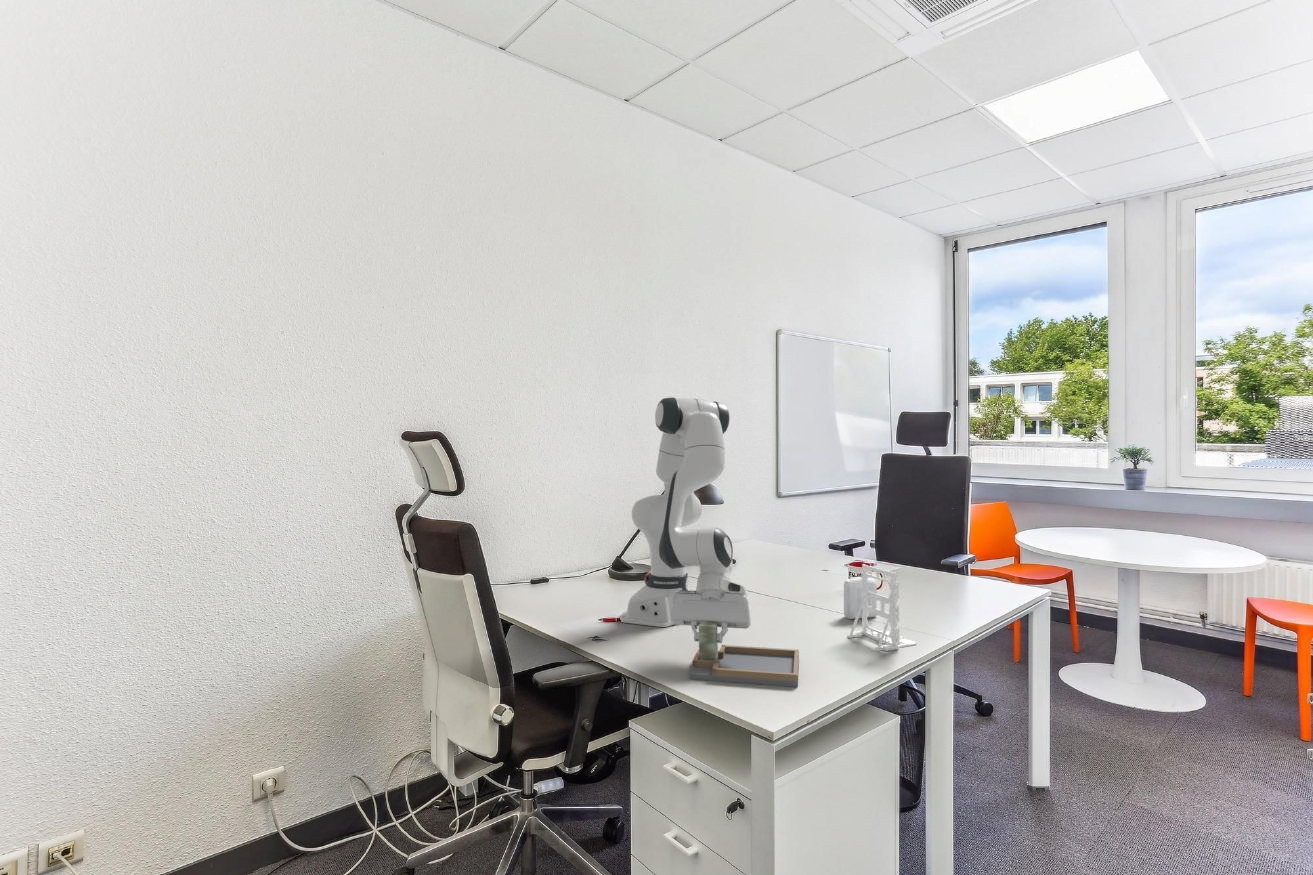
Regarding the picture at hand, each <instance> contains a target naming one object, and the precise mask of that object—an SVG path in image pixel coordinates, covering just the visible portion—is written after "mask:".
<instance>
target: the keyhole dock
mask: <svg viewBox="0 0 1313 875" xmlns="http://www.w3.org/2000/svg"><path fill="white" fill-rule="evenodd" d="M691 662H692V667H691V670H689V671H690V672H689V674H688V679H689V680H698V679H699V681H700V680H701V681H715V682H726V683H737V684H738V683H741V684H752V685H753V684H754V685H766V686H767V685H768V686H780V687H782V686H783V687H792V688H793V687H795V688H798V687H799V669H800V668H799V667H800V650H799V649H795V648H794V649H793V648H792V649H791V648H774V647H760V646H759V647H757V646H745V645H744V646H743V645H740V646H739V645H725V644H722V645H721V646H720V649H719V650H718V659H717V661H712V660H699V649H697V651H696V652H695V655H694V656H693V658H692V661H691Z"/></svg>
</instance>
